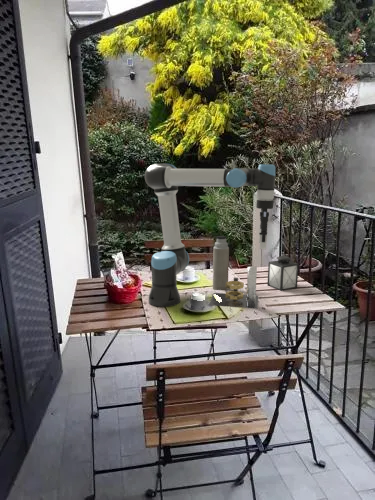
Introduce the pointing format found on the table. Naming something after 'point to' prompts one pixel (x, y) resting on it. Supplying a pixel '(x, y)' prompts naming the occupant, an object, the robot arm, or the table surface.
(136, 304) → the table surface
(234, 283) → the collar stand
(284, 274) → the lantern
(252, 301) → the tube
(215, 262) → the thermos bottle
